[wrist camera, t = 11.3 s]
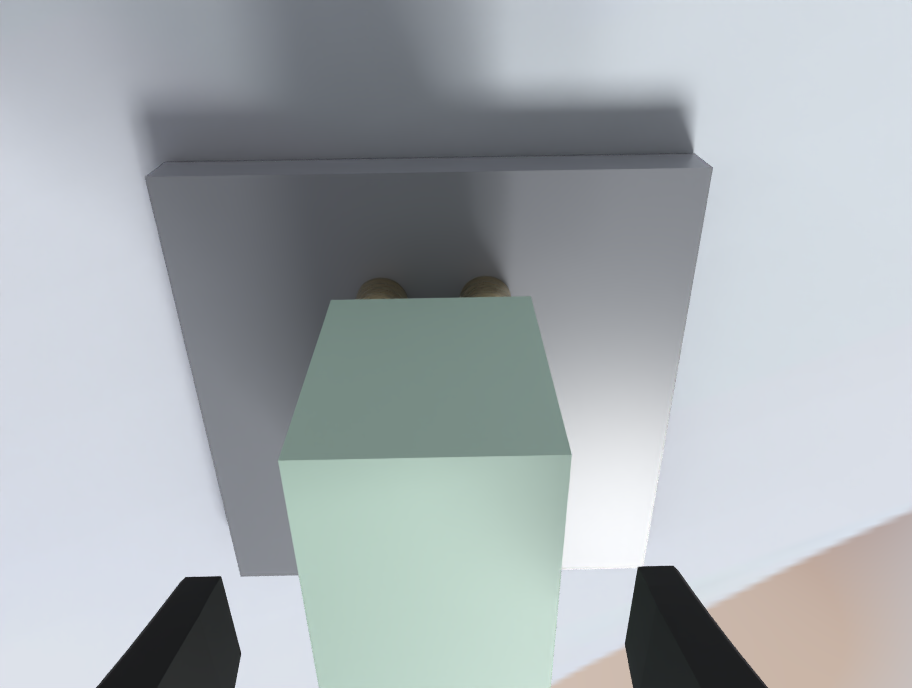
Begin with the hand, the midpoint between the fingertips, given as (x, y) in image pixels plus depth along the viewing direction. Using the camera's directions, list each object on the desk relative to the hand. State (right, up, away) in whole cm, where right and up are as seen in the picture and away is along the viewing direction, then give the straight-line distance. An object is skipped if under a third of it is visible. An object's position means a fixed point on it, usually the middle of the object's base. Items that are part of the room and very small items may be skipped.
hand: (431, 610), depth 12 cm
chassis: (0, +4, +6) cm, 7 cm away
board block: (0, +2, +4) cm, 4 cm away
